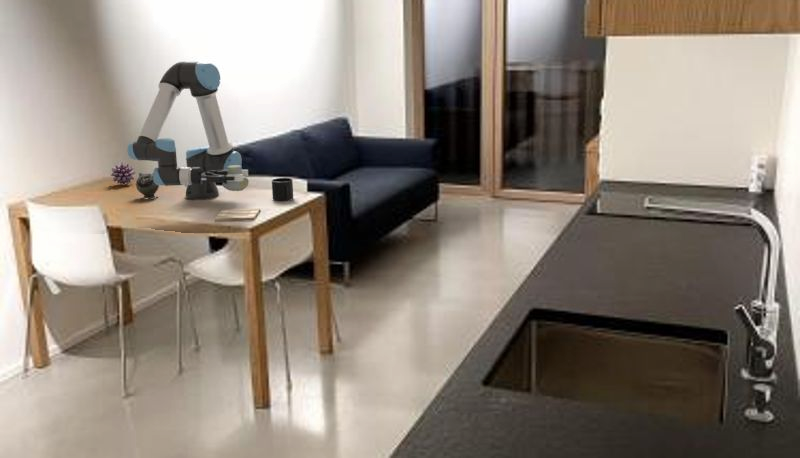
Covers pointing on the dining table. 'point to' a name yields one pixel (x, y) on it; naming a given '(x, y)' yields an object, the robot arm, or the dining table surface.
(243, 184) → the air freshener
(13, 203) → the dining table surface
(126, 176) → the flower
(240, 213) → the coaster board
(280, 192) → the mug
